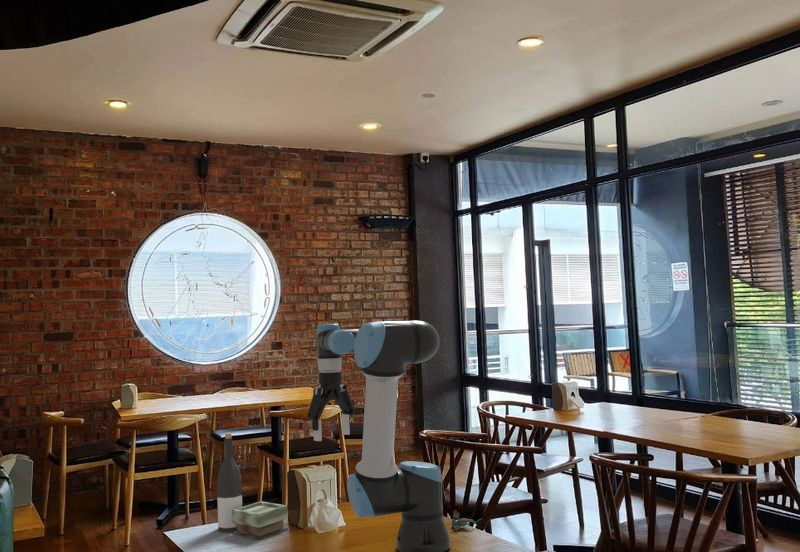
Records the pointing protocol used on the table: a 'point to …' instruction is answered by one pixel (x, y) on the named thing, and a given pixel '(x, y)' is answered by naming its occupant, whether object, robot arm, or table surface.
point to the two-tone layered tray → (260, 520)
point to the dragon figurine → (460, 521)
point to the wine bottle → (228, 489)
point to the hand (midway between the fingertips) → (332, 437)
